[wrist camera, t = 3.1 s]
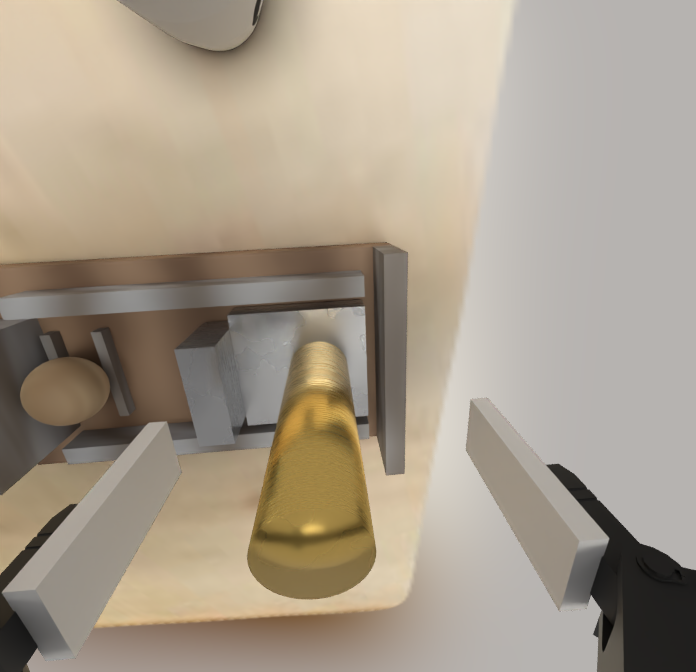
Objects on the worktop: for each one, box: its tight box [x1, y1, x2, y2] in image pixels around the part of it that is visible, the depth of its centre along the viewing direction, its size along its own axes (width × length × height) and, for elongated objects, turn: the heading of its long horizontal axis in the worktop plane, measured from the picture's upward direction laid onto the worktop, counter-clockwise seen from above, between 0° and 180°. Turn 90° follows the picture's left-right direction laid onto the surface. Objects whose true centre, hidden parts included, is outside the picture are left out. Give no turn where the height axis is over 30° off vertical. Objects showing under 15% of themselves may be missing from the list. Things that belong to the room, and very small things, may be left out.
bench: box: [0, 242, 408, 495], centre depth 20 cm, size 26×14×8 cm, turn 93°
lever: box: [174, 300, 376, 599], centre depth 15 cm, size 10×8×14 cm
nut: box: [20, 357, 110, 426], centre depth 19 cm, size 4×4×4 cm
